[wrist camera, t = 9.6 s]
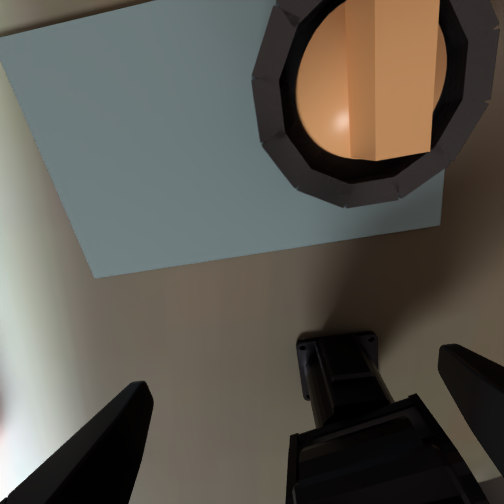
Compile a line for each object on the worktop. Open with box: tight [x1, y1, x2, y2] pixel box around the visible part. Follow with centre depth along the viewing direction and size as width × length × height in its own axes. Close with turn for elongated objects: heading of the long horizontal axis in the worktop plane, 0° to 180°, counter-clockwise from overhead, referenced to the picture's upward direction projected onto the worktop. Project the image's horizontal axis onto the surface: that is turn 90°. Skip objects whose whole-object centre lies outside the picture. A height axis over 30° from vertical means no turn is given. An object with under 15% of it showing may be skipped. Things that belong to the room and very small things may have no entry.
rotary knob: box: [294, 0, 447, 161], centre depth 11 cm, size 6×6×4 cm
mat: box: [0, 0, 445, 278], centre depth 17 cm, size 15×25×1 cm, turn 100°
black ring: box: [251, 0, 500, 209], centre depth 14 cm, size 10×10×4 cm
